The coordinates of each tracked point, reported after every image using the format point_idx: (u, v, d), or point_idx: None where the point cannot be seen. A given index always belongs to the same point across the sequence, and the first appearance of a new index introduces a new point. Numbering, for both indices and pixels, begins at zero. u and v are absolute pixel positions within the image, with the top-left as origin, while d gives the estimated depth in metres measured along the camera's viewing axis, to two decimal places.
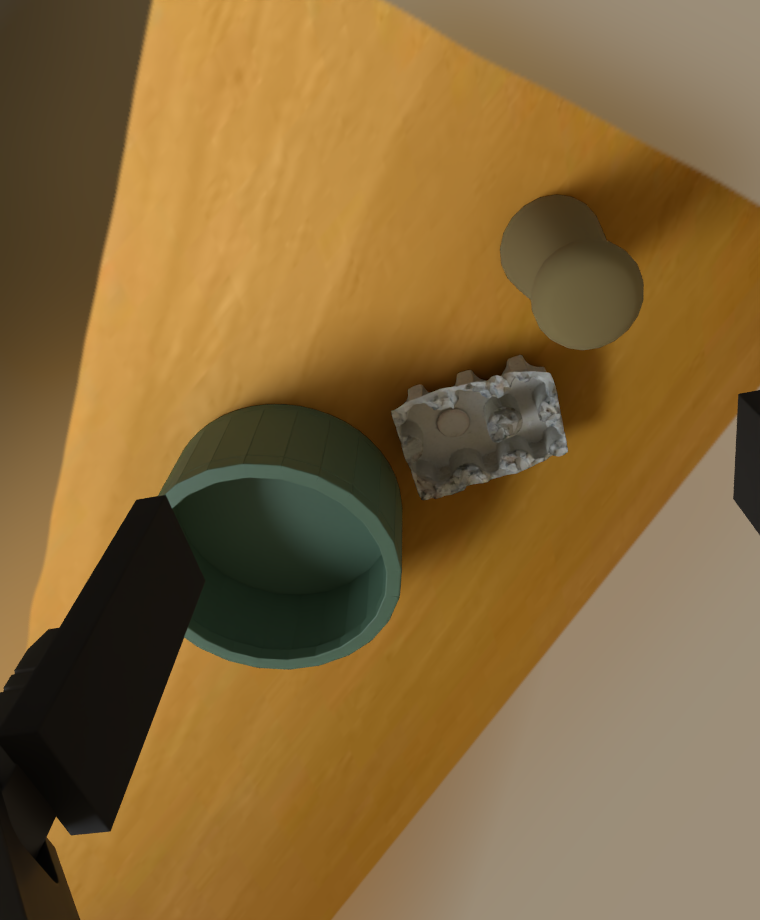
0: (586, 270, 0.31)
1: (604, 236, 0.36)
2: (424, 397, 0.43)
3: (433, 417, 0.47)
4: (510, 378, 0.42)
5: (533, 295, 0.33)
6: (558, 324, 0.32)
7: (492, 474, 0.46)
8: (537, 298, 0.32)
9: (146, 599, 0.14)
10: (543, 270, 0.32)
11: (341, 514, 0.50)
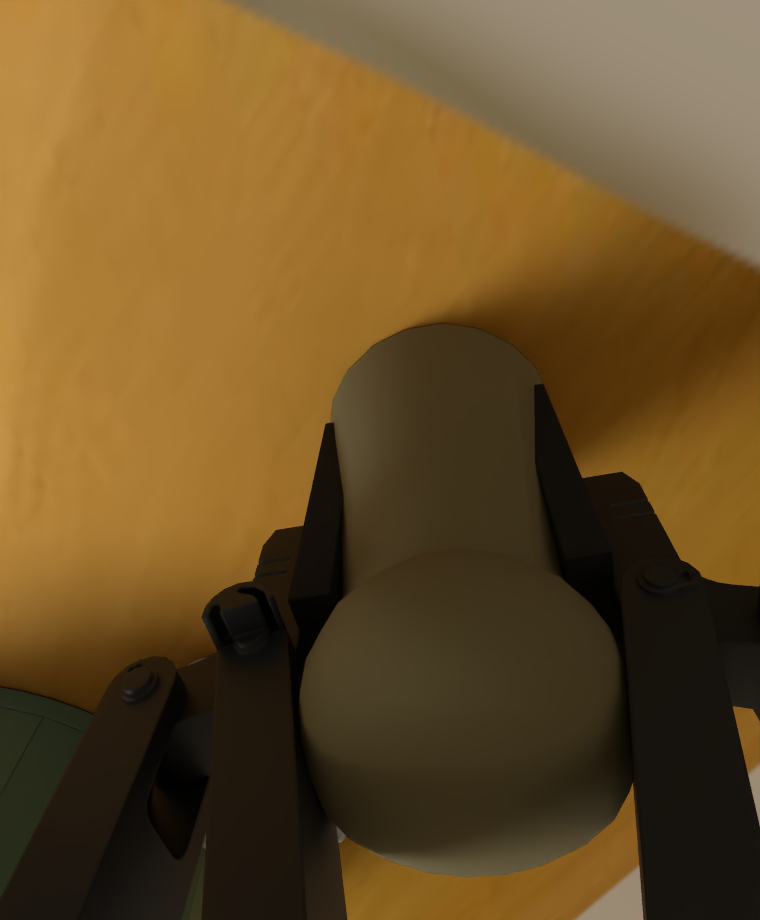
0: (432, 726, 0.08)
1: None
2: None
3: None
4: None
5: None
6: (364, 840, 0.10)
7: None
8: None
9: None
10: (315, 664, 0.10)
11: None
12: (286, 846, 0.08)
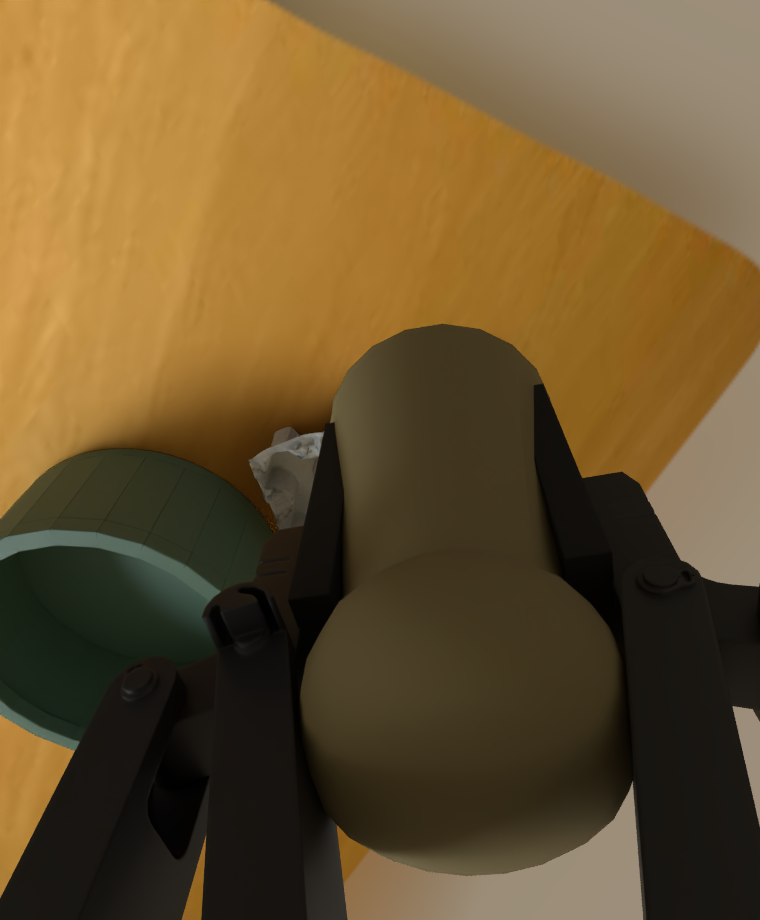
0: (432, 726, 0.09)
1: None
2: (283, 445, 0.35)
3: (309, 464, 0.39)
4: None
5: None
6: (364, 839, 0.10)
7: None
8: None
9: None
10: (316, 663, 0.10)
11: None
12: (286, 846, 0.08)
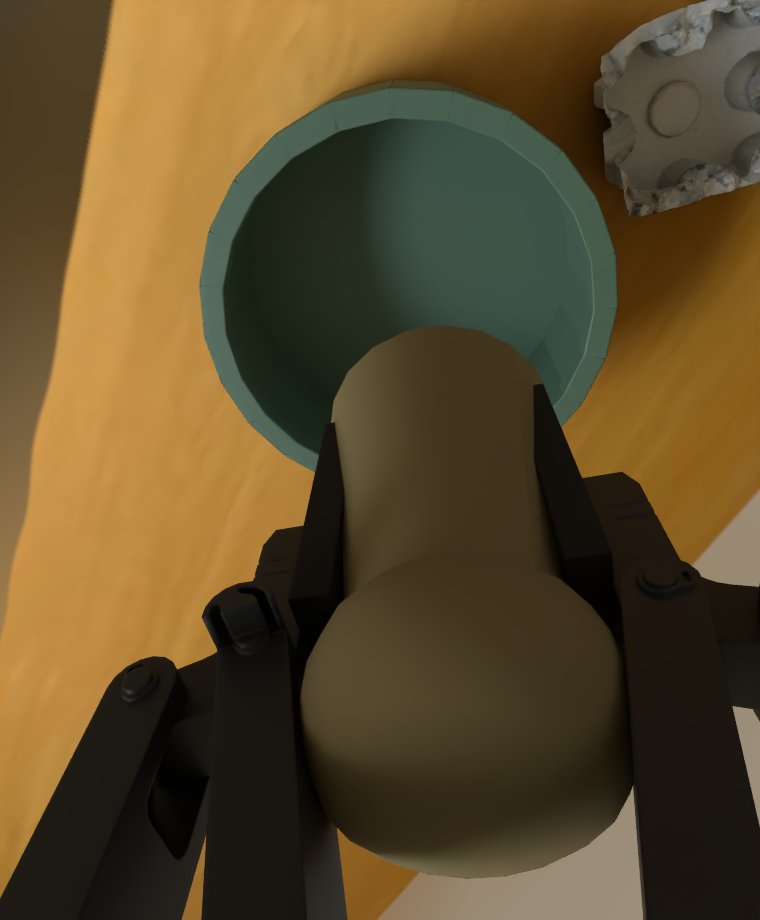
0: (433, 729, 0.08)
1: None
2: (663, 20, 0.27)
3: (644, 101, 0.31)
4: None
5: None
6: (365, 842, 0.10)
7: (740, 179, 0.30)
8: None
9: None
10: (316, 666, 0.10)
11: (488, 276, 0.34)
12: (286, 846, 0.08)
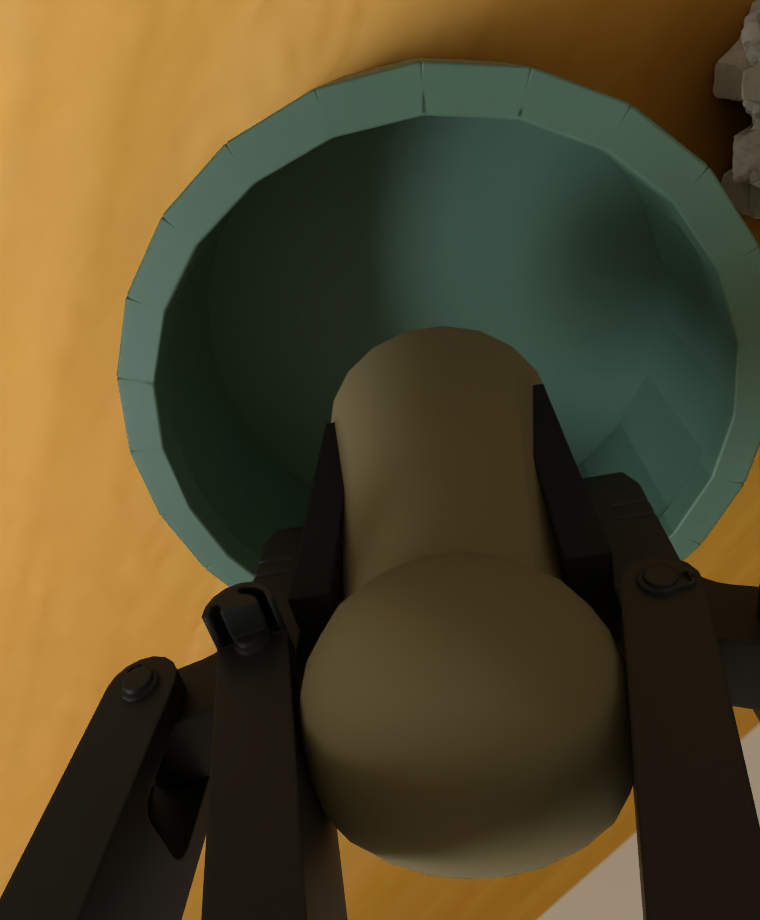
0: (433, 729, 0.08)
1: None
2: None
3: None
4: None
5: None
6: (365, 842, 0.10)
7: None
8: None
9: None
10: (316, 667, 0.10)
11: (547, 338, 0.24)
12: (286, 846, 0.08)
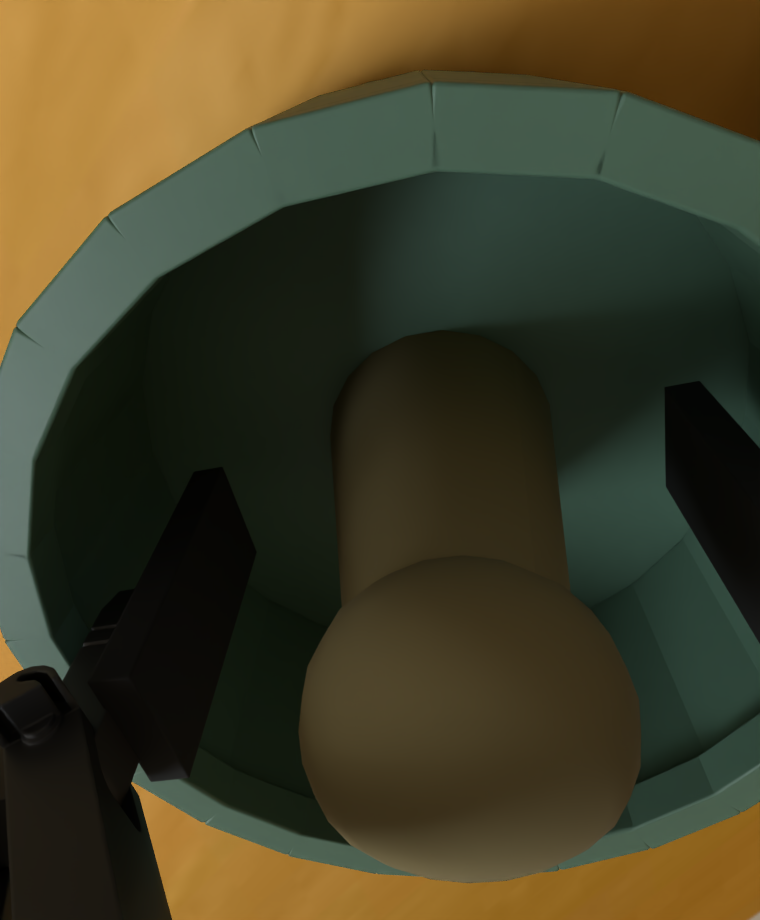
0: (434, 733, 0.09)
1: (542, 462, 0.14)
2: None
3: None
4: None
5: (300, 725, 0.10)
6: (366, 847, 0.10)
7: None
8: (302, 753, 0.10)
9: (210, 564, 0.15)
10: (317, 671, 0.10)
11: (591, 438, 0.18)
12: None
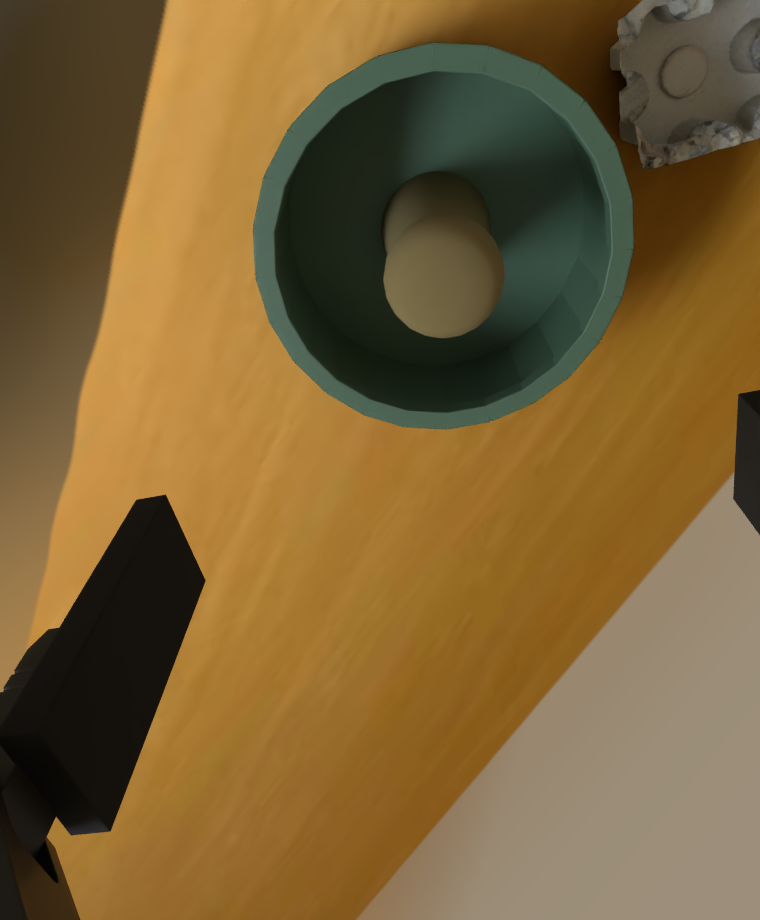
0: (432, 247, 0.27)
1: (479, 214, 0.33)
2: None
3: (656, 65, 0.34)
4: None
5: (384, 276, 0.29)
6: (408, 309, 0.29)
7: (745, 135, 0.33)
8: (386, 279, 0.29)
9: (146, 599, 0.14)
10: (392, 248, 0.29)
11: (510, 231, 0.37)
12: None
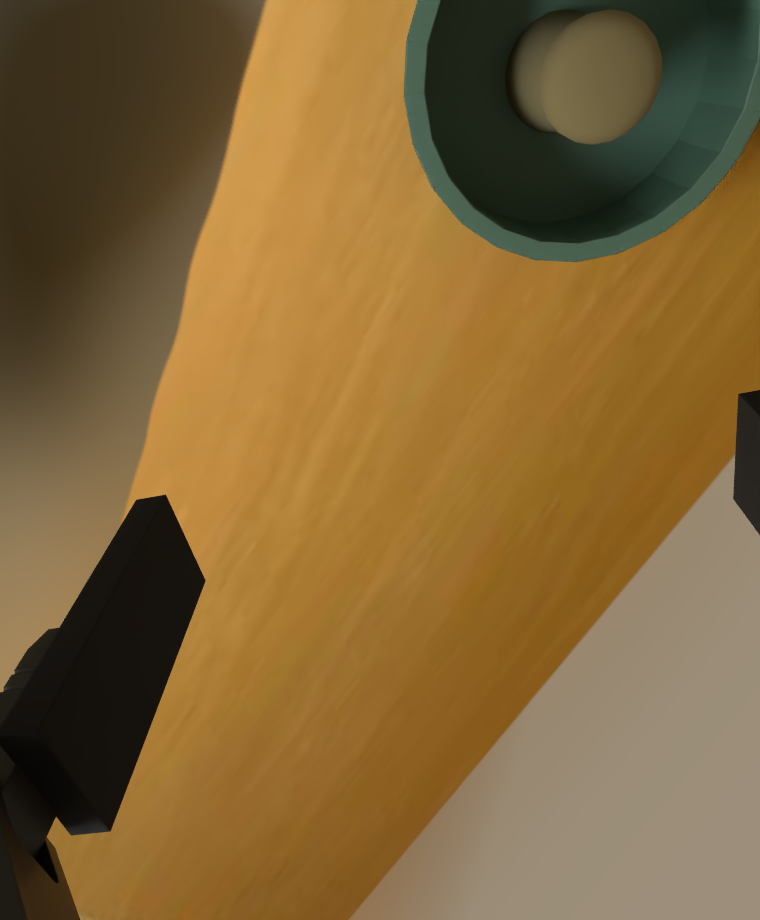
0: (600, 35, 0.28)
1: None
2: None
3: None
4: None
5: (542, 78, 0.30)
6: (569, 106, 0.29)
7: None
8: (546, 78, 0.29)
9: (146, 599, 0.14)
10: (553, 46, 0.29)
11: None
12: None
